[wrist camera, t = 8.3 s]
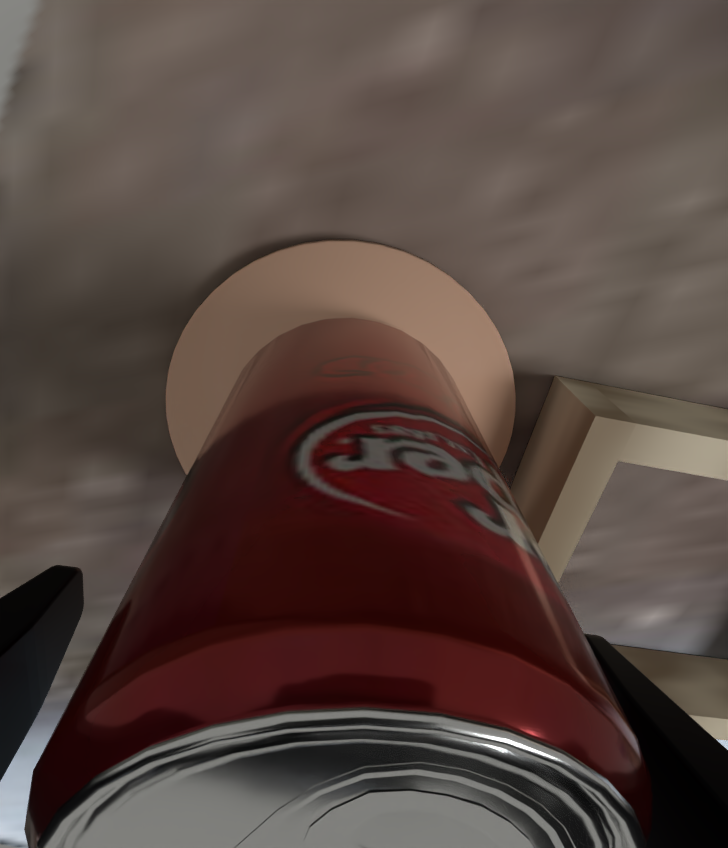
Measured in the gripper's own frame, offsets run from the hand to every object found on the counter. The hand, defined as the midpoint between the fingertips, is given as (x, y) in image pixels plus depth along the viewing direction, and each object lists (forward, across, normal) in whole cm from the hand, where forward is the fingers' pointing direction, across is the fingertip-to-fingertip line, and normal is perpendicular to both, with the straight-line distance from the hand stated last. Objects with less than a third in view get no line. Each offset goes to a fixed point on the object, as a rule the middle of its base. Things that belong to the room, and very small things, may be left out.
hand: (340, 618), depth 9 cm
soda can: (+8, 0, 0) cm, 8 cm away
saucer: (+8, 0, 0) cm, 8 cm away
